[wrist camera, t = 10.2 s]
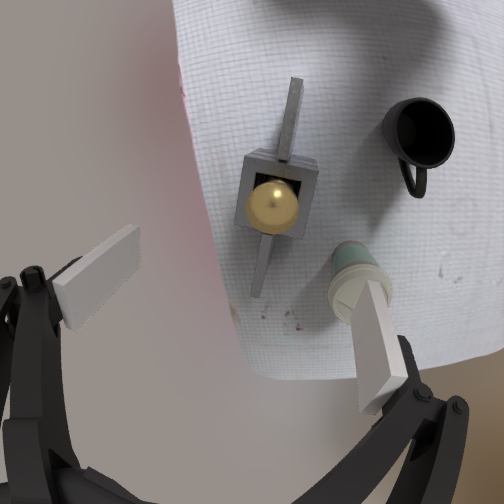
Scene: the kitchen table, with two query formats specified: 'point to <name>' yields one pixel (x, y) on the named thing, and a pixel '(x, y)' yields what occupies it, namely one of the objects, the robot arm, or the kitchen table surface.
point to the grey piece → (289, 126)
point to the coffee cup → (353, 278)
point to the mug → (418, 139)
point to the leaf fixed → (249, 181)
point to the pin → (273, 205)
